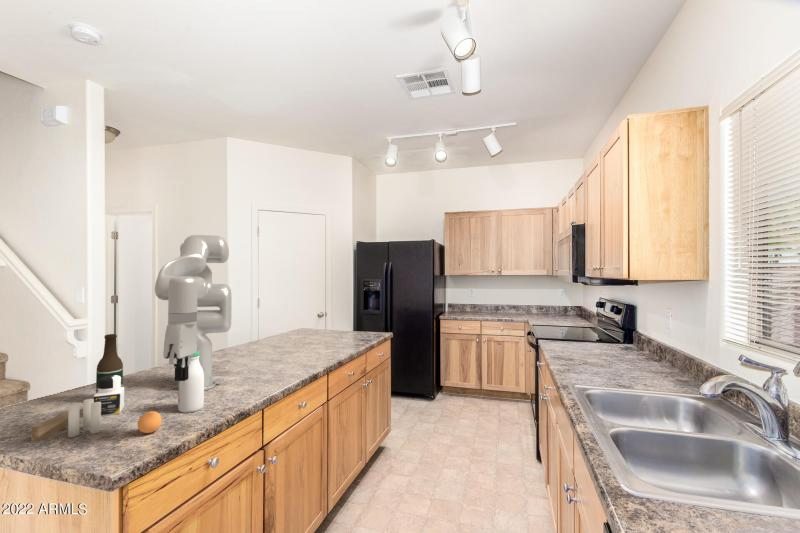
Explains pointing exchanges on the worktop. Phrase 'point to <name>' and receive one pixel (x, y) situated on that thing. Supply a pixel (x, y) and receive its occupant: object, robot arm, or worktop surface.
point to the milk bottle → (192, 387)
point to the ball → (149, 422)
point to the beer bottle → (109, 361)
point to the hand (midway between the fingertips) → (181, 380)
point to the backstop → (50, 426)
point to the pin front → (95, 417)
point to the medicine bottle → (110, 395)
